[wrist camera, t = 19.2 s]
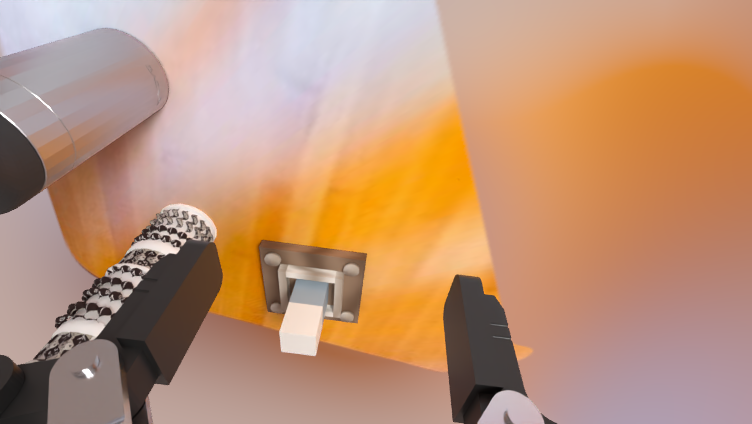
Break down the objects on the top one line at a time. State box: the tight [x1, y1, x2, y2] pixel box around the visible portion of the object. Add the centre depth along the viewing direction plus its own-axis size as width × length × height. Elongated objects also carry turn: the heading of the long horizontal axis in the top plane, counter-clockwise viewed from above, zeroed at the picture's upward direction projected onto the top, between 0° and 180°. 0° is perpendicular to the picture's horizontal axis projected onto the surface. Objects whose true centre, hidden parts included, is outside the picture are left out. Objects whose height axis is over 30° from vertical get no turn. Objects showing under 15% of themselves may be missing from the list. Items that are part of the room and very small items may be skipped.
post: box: [279, 279, 329, 356], centre depth 53 cm, size 5×5×10 cm
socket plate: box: [259, 240, 367, 323], centre depth 57 cm, size 16×16×3 cm
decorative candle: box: [26, 203, 217, 364], centre depth 43 cm, size 9×9×25 cm
